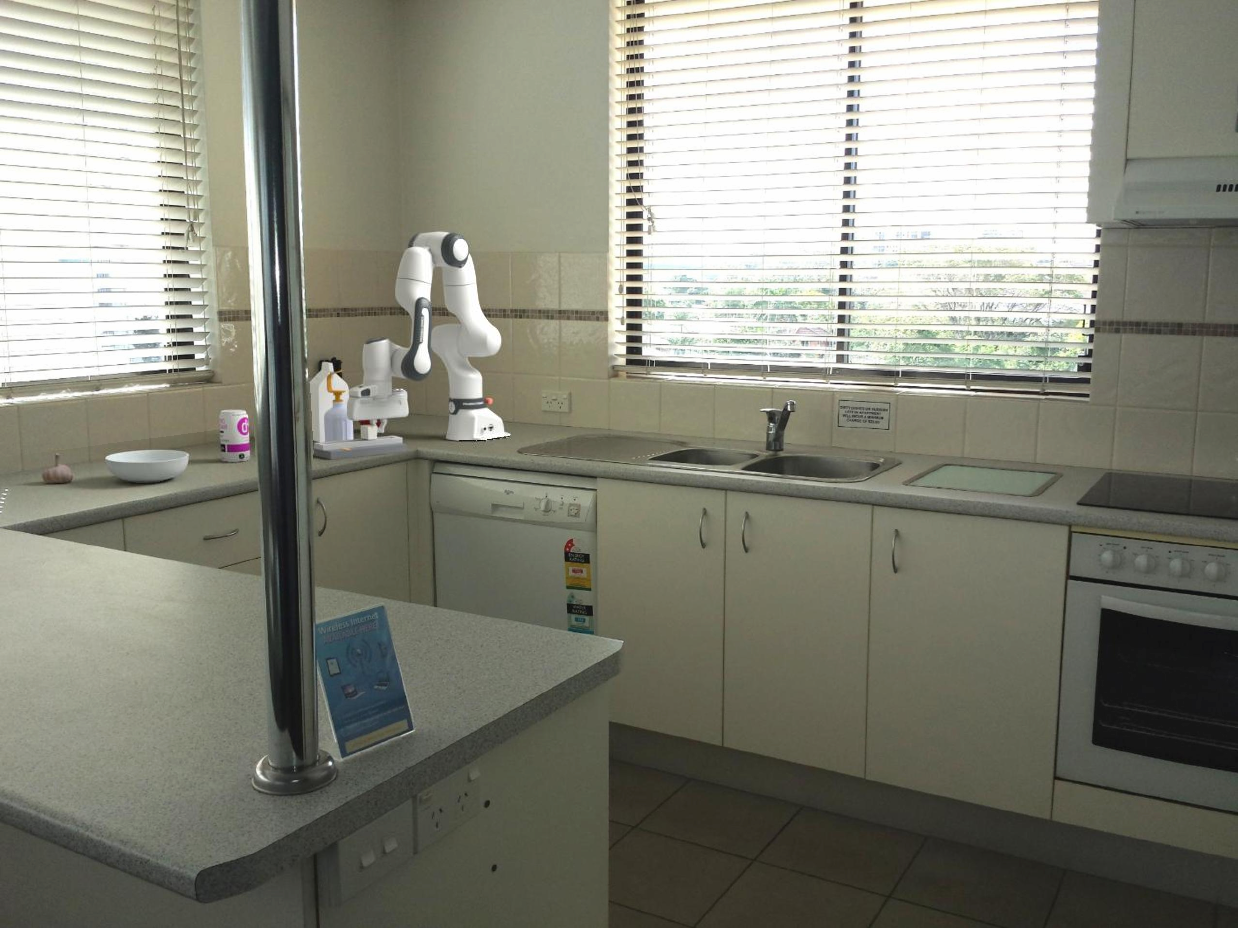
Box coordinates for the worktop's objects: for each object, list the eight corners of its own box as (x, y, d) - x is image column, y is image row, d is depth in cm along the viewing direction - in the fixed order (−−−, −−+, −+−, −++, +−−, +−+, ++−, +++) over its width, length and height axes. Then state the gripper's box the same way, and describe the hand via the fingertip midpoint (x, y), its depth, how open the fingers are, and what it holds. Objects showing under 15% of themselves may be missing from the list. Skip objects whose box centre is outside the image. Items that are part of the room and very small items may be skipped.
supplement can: (255, 459, 341) (253, 410, 339) (238, 463, 334) (235, 413, 331) (233, 457, 344) (230, 408, 342) (215, 462, 336) (212, 411, 334)
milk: (352, 439, 384) (350, 363, 380) (319, 442, 378) (316, 364, 374) (340, 435, 394) (337, 361, 390) (307, 438, 388) (304, 362, 383)
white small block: (369, 442, 360) (369, 424, 359) (377, 443, 356) (376, 426, 355) (361, 443, 358) (360, 425, 357) (368, 444, 354) (368, 426, 353)
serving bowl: (106, 489, 292) (104, 463, 291) (107, 476, 311) (105, 452, 310) (192, 484, 300) (190, 458, 299) (187, 472, 319) (186, 447, 318)
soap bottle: (349, 447, 367) (347, 371, 364) (321, 446, 368) (318, 371, 364) (356, 443, 376) (354, 369, 372) (329, 442, 376) (326, 369, 373)
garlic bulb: (78, 482, 302) (75, 453, 300) (49, 486, 296) (47, 456, 295) (66, 479, 306) (63, 450, 305) (37, 483, 301) (35, 453, 300)
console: (387, 446, 369) (387, 434, 368) (409, 451, 358) (408, 439, 358) (309, 454, 352) (308, 441, 351) (329, 459, 341) (328, 446, 340)
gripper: (401, 386, 365) (402, 429, 367) (343, 390, 352) (345, 434, 354) (411, 388, 360) (412, 431, 363) (353, 392, 347) (354, 436, 350)
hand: (378, 433), depth 358 cm, fingers closed
